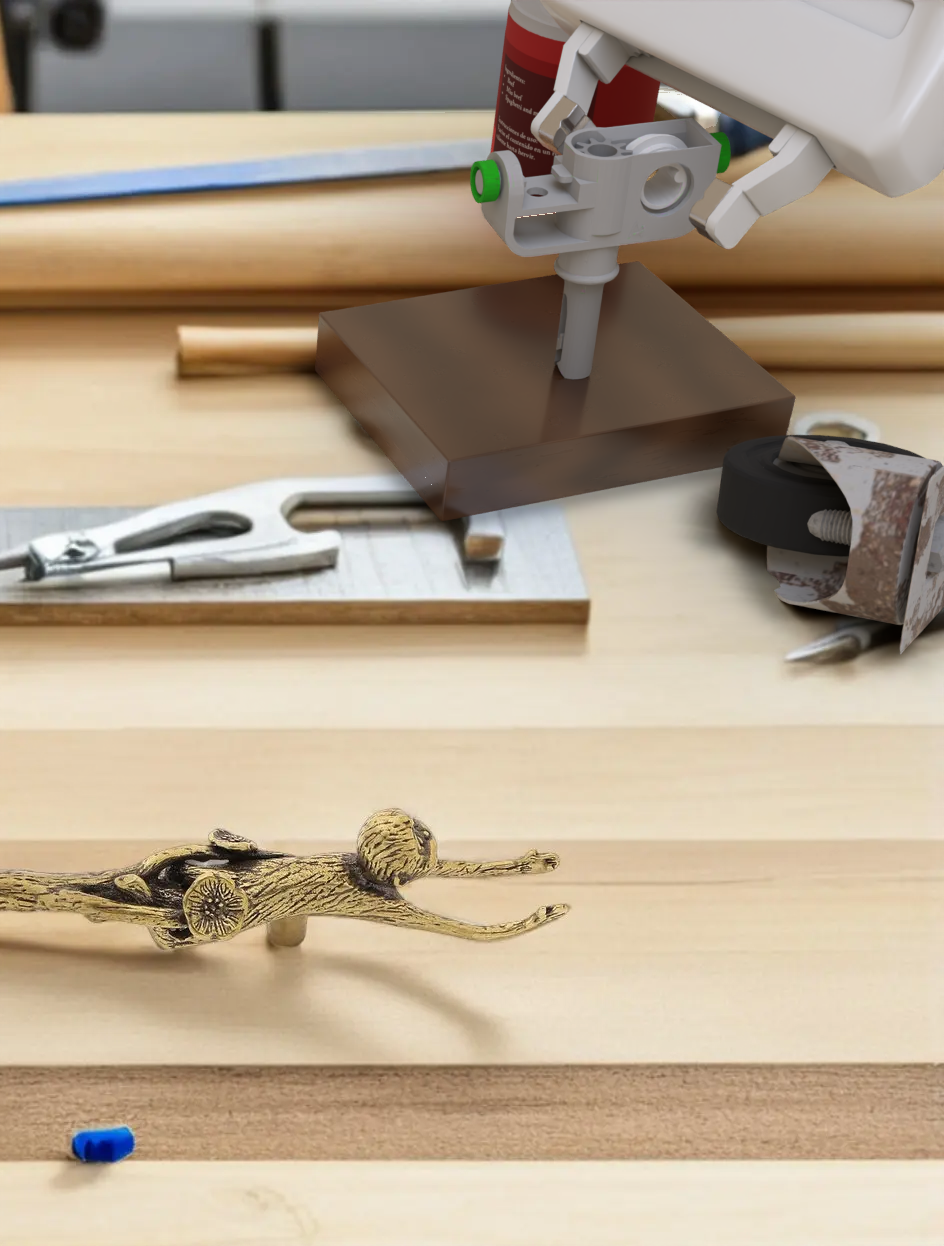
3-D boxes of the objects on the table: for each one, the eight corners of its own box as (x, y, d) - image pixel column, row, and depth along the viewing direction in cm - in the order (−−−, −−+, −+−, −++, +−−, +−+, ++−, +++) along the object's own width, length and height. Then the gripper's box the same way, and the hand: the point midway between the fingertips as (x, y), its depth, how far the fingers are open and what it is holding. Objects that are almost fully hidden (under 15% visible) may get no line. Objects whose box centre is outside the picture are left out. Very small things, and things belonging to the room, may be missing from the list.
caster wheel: (749, 528, 89) (992, 572, 84) (651, 605, 80) (915, 660, 75) (770, 373, 86) (1023, 409, 81) (670, 436, 78) (946, 481, 73)
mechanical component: (445, 368, 88) (466, 141, 82) (671, 337, 90) (709, 112, 83) (470, 403, 86) (493, 173, 79) (700, 371, 88) (742, 143, 81)
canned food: (628, 189, 109) (666, -26, 101) (641, 258, 102) (681, 35, 95) (480, 180, 109) (507, -34, 102) (484, 250, 103) (512, 27, 96)
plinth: (628, 319, 98) (638, 260, 96) (781, 458, 89) (797, 396, 87) (313, 372, 94) (318, 312, 92) (440, 525, 84) (448, 461, 82)
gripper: (644, -230, 84) (426, 55, 87) (1047, -84, 71) (775, 248, 73) (707, -131, 89) (497, 137, 91) (1095, 24, 76) (838, 332, 78)
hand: (624, 188), depth 82 cm, fingers open, 8 cm apart
